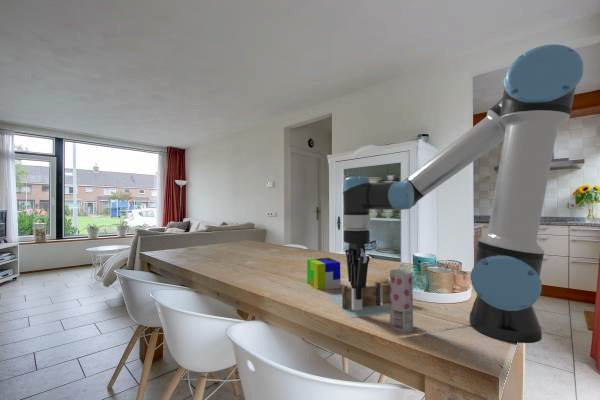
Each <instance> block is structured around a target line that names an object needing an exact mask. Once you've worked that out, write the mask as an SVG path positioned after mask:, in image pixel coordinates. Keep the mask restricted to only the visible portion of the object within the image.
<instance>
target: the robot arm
mask: <svg viewBox="0 0 600 400" xmlns="http://www.w3.org/2000/svg"><path fill="white" fill-rule="evenodd" d="M583 74H584V62H583V59H582V57H581V55H580V54H579V52H577V51H576V50H575V49H573V48H571V47H570V46H566V45H564V44H556V43H555V44H554V43H553V44H545V45H540V46H539V45H538V46H535V47H534V48H531V49H529V50H527V51H525V52H524V53H522V54H521V55H520V56H518V57H517V58H516V59H515V60H514V61H513V62H512V63H511V65H510V66H509V67H508V68H507V71H506V73H505V75H504V78H503V86H504V89H503V93H502V97H501V98H500V100H499V101H498V102H497V103H495V104H494V105H493V106H492V107H491V108H489V109H488V110H487V113H486V116H485V117H484V118H483V119H482V120H480V121H479V122H477V123H476V124H475V125H473V126H472V127H471V128H470V129H469V130H467V131H466V132H464V133H463V134H462V135H461V136H459V138H457V139H455V140H454V141H453V142H452V143H450V144H449V145H448V146H446V147H444V149H442V150H441V151H440V152H438V153H437V154H436V155H434V156H433V157H432V158H431V159H429V160H428V161H427V162H426V163H424V164H423V165H422V166H420V168H418V169H417V170H415V171H414V172H413V173H411V175H409V176H408V177H406V178H405V179H404V180H402V181H393V182H376V183H375V182H370V178H369V177H367V176H347V177H346V178H344V181H343V192H342V194H343V215H342V218H343V220H342V221H343V222H342V223H343V226H342V227H343V228H344V229H343V242H344V243H346V244H348V248H347V249H345V250H344V252H345V258H346V266H347V276H348V277H347V278H348V279H347V280H348V282H349V283H350V287H352V309H353V310H362V288H365V287H366V286H367V278H368V269H369V262H370V256H369V255H366V247H365V244H368V243H370V230H369V228H370V221H371V218H370V210H395V211H403V210H410V209H412V208H413V207H414V206H416V204H418V202H419V201H420V200H421V199H423V198H424V197H425V196H426V195H428V194H429V193H431V192H433V191H434V190H435V189H436V188H438V187H440V186H441V185H442V184H444V183H445V182H446V181H448V180H450V179H451V178H452V177H453V176H455V175H456V174H458V173H460V172H461V171H462V170H464V169H465V168H466V167H468V166H470V165H471V164H472V163H473V162H475V161H477V160H478V159H479V158H480V157H482V156H484V155H485V154H487V152H489V151H491V150H492V149H493V148H494V147H496V146H498V145H499V144H500V143H502V142H503V143H502V149H501V154H500V159H499V164H498V165H499V167H498V172H497V175H496V176H497V177H496V182H495V188H494V194H493V195H494V196H493V201H492V206H491V212H490V217H489V224H488V230H487V233H486V234H484V235H482V236H481V237H479V238H478V240H477V242H476V244H475V245H476V247H475V257H474V264H473V268H472V269H471V270H470V271H471V273H470V281H471V285H472V287H473V289H474V292H475V293H476V297H475V299H474V302H473V305H472V308H471V311H470V312H469V325H470V326H471V327H472V328H473V329H474V330H475V331H477V332H479V333H481V334H483V335H485V336H488V337H491V338H495V339H497V340H501V341H505V342H510V343H517V344H534V343H537V342H538V343H539V342H541V340H542V339H543V337H542V336H543V334H542V333H543V332H542V326H541V324H540V323H539V319H538V317H537V314H536V310H535V309H534V307H533V305H535V303H536V302H537V301H538V300H539V298H540V295H541V294H542V291H543V290H542V288H543V286H542V281H541V278H540V276H541V271H542V265H543V262H544V261H543V260H544V256H545V250H544V249H543V247H541V246H540V244H539V243H538V242H537V239H538V235H539V234H538V233H539V230H540V223H541V218H542V213H543V212H542V211H543V207H544V202H545V198H546V191H547V187H548V186H547V185H548V181H549V176H550V172H551V171H550V170H551V164H552V159H553V153H554V149H555V143H556V138H557V132H558V128H559V127H560V126H561V125H562V124H564V123H565V122H567V121H569V119H570V117H571V112H572V108H573V102H574V98H575V97H574V96H575V92H576V86H577V85H578V84H579V83H580V82H581V80H582V77H583Z"/></svg>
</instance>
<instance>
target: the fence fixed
mask: <svg viewBox="0 0 600 400" xmlns="http://www.w3.org/2000/svg"><path fill="white" fill-rule="evenodd" d="M380 286H381V303H382V304H387V303H390V282H389V283H380Z"/></svg>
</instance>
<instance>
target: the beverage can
mask: <svg viewBox="0 0 600 400" xmlns="http://www.w3.org/2000/svg"><path fill="white" fill-rule="evenodd" d="M389 283H390V313H389V326H390V328H391V329H393V330H394V331H397V332H403V333H406V332H407V333H408V332H412V331H413V330H414V314H413V313H414V310H413V307H414V306H413V305H414V304H413V303H414V298H413V275H412V271H410V270H406V269H398V268H397V269H391V270H390V273H389Z"/></svg>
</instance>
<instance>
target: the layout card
mask: <svg viewBox="0 0 600 400" xmlns="http://www.w3.org/2000/svg"><path fill="white" fill-rule="evenodd" d="M327 297H328V298H329V299H330V300H331V301H333V303H334V304H336V305H337V306H338V307H339V308H340V309H341V310H343V311H344V312H345V313H346V314H347V315H348V316H350V318H352V319H355V318H362V317H369V316H370V317H371V316H378V315H385V314H390V303H387V304H382V303H381V305H380V306H377V305H370V306H362V310H353V309H352V308H346V309H345V308H342V293H339V294H330V295H327ZM417 310H418V308H417V307H414V306H413V311H417Z"/></svg>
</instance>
